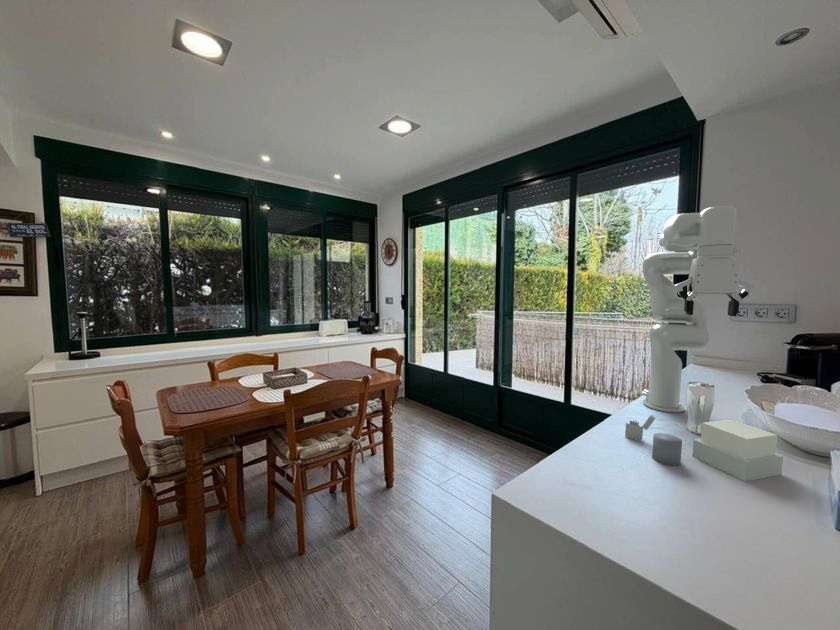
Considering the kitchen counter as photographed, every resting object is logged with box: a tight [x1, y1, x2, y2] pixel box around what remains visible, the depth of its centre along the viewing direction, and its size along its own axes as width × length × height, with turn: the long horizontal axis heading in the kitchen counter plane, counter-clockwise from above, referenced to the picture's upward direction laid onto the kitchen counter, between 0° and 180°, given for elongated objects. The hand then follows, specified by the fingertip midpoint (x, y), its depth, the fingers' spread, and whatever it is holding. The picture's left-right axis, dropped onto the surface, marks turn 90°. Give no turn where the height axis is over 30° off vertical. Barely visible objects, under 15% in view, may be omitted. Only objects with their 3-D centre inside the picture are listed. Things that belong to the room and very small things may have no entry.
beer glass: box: [685, 381, 716, 436], centre depth 106 cm, size 7×7×15 cm
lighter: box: [624, 415, 657, 442], centre depth 100 cm, size 7×2×8 cm, turn 45°
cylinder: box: [651, 432, 683, 467], centre depth 88 cm, size 6×6×6 cm
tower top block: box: [700, 418, 778, 460], centre depth 86 cm, size 10×10×5 cm
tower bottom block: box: [692, 438, 784, 482], centre depth 86 cm, size 12×12×5 cm
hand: (710, 315), depth 95 cm, fingers open, 9 cm apart
